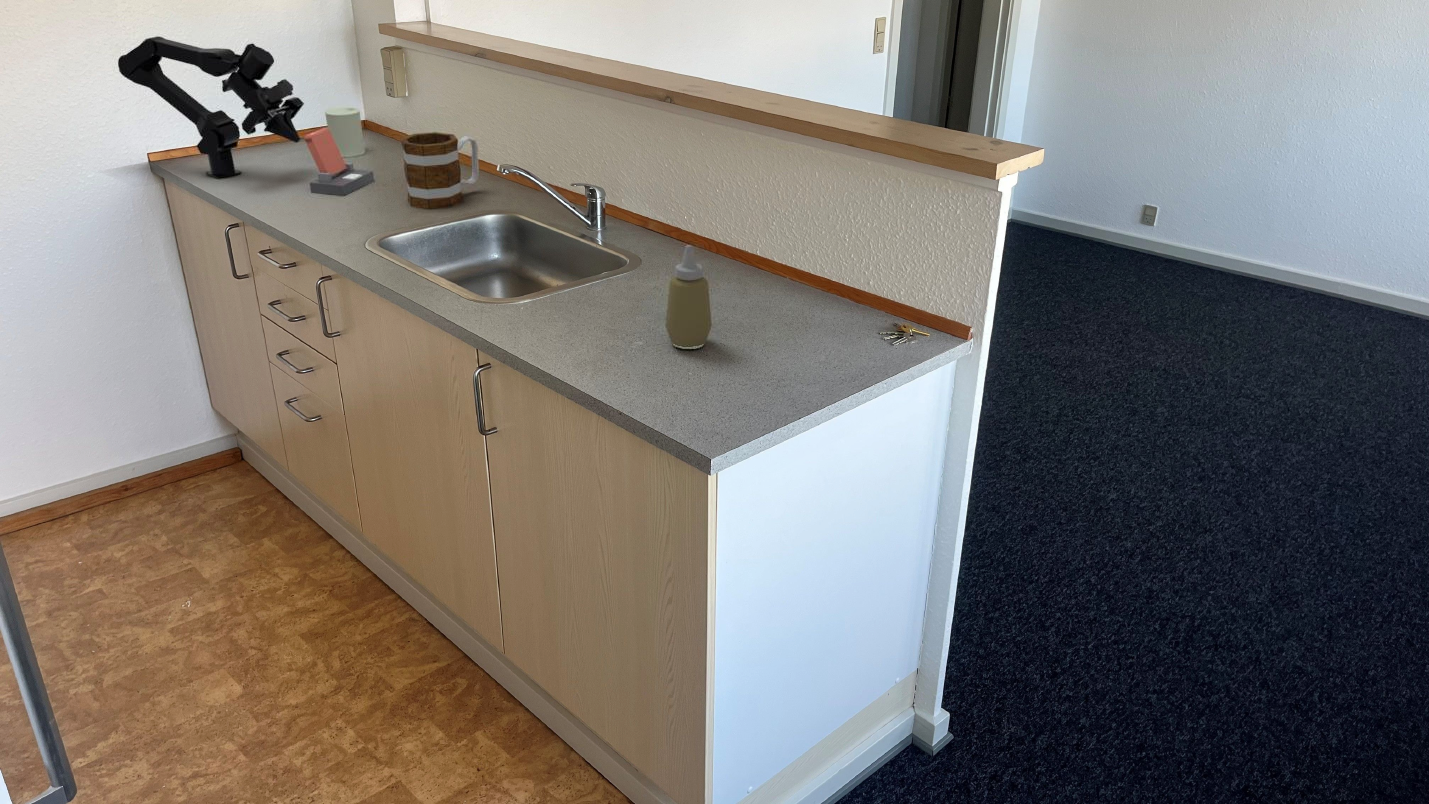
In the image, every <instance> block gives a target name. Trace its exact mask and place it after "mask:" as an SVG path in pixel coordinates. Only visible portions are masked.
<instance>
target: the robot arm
mask: <svg viewBox="0 0 1429 804" xmlns="http://www.w3.org/2000/svg"><path fill="white" fill-rule="evenodd" d="M162 58H165V59H170V60H172V61H177V62H180V63H184V64H188V65H192V66H195V67H198V68H199V69H200V70H201V72H204V73H205V74H208V75H210V76H212V77H215V78H216V77H217V78H219V77H222V76H226V75H229V76H228V77H227V78H226V79H223V80H221V83H222V86H221V88H222V92H223V93H226V92H229V91H232V92H233V93H234V94H236V96H237V97H238V98H239V99H240V100H242V101H243V102H244V103H243V105H242V107H243V108H244V109H245V110H248V109H250V110H251V111H249V113H248V114H247V115H246V117H245V118H244V120H243V121H242V122H241V129H242V130H243V132H245V133H246V134H247V136H250V135H251V134H252V135H253V134H255V133H256V132H257V130H256V126H257V125H259V124H262V123H263V124H264V126H265V127H264V129H263V132H266V133H271V134H274V135H277V136H278V137H281V138H284V139H287V140H288V141H289V140H290V141H292V142H293V143H299V142H300V141H301V137H300V135H299V133H298V132H297V130H296V127H295V125H294V123H293V121H292V120H293V119H294V118H295V117H296V115H297V114H298V113H299V111H300V110H301V109H302V108H303V106H304V105H305V102H303V101H302V100H301V98H299V97H295V96H293V97H290V98H287V97H289V96H292V95H293V94H294V92H293V91H294V87H293V84H291V82H289V81H288V79H286V78H285V79H281V80H280V81H278V82H276V85H273V86H271V87H268V86H262V85H261V84H259V83H258V81H261V80H263V79H264V77H266V75H267V73H268V72H269V70H270V69H271V67H272V66H273V65H274V63H275V58H274V56H273V55H272V54H271V52H269V51H267V50H266V49H264V48H262V47H259V46H256V45H255V44H254V43H253V42H252V43H249V44H247V45H246V46H245V47H244V49H243V52H242V53H241V54H236V52H235V51H233V50H232V49H230V48H222V47H221V48H217V47H215V48H214V47H213V48H205V47H204V48H203V47H198V46H194V45H190V44H186V43H184V42H183V43H182V42H179V41H175V40H172V39H167V38H164V37H162V36H153V37H148V38H145V39H144V40H143V41H142V42H141V43H140V44H139V45H137V46H136V47H135V48H133V49H132V50H130V51H129V52H127V53H126V54H123V55H120V56H119V58H118V62H117V67H118V69H119V71H118V72H119V73H120V74H121V75H122V76H123V77H124V78H126V79H127V80H129V81H131V82H132V83H135V84H137V85H140V86H143V87H146V88H149V89H150V90H152V91H153V92H154V93H155V94H157V95H158V96H159V97H160V98H162V99H163V100H164V101H165V102H167V103H168V104H169V105H170V106H171V107H173V108H174V109H175V110H177V111H178V112H179V113H180V114H181V115H182V116H184V117H185V118H187V119H188V121H190V122H192V124H194V125H195V127H196V128H197V132H198V133H199V136H200V137H201V139H200V140H199V142H198V143H197V144H196V148H197V150H198V152H199V153H200V154H202V155H203V154H204V155H207V158H208V164H209V168H210V171H205V174H206V175H207V176H210V177H213V178H216V179H223V178H228V177H231V176H232V177H233V176H237V175H242V171H240V170H237V169H236V168H235V163H234V157H233V152H232V149H235V148H237V147H238V143H239V140H240V136H241V134H240V128H239V125H238V124H237V123H236V122H235V118H231V117H230V116H229V115H227V113H226V112H225V111H223V110H222V109H221V110H216V111H214V112H213V111H210V110H209V109H208V108H206V107H205V106H204V105H203V104H202V103H200V102H199V101H198V100H197V99H195V98H194V97H193V96H192V95H190V94H189V93H188V92H186V90H184V89H183V88H181V87H180V86H179V85H178V84H176V83H175V82H174V81H173V80H171V79H170V78H169V77H168V76H166V75H165V74H164V72H163V69H162V67H161V64H160V62H161V61H162ZM285 98H287V99H286V100H285V101H284V100H283V99H285ZM280 105H281V106H280Z"/></svg>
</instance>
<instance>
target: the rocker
mask: <svg viewBox="0 0 1429 804" xmlns="http://www.w3.org/2000/svg"><path fill="white" fill-rule="evenodd" d="M304 140H305V144H306V146H307V148H308V150H309V152H310V154H311V156H312V158H313V160H314V163H315V165H316V167H317V169H318V171H319V172H323V173H331V175H333V174H335V173H337V172H340V171H342V170H344V169H346V168H347V167H346V165H345V163H346V162H345V160H344V157H342V156H341V154H340V151H339V149H338V147H337V145H336V143H335V141H334V138H333V136H332V134H331V132H330V130H329V129H328V127H327V126H326V127H324V128H320V129H317V130H314V131H313V132H309V133H307V134H305V135H304Z"/></svg>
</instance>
